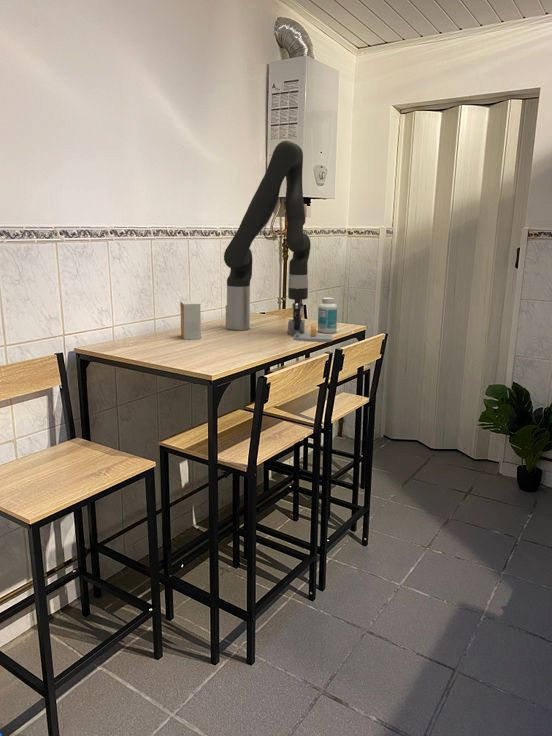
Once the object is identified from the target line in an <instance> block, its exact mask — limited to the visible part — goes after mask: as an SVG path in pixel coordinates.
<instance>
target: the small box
mask: <svg viewBox="0 0 552 736" xmlns="http://www.w3.org/2000/svg"><path fill="white" fill-rule="evenodd" d="M179 303H180V304H179V305H180V336H181V337H182V338H183V340H201V339H202V325H201V323H202V322H201V321H202V319H201V315H202V314H201V312H202V311H201V303H200V302H198V301H197V300H182V301H181V300H180V302H179Z"/></svg>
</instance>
